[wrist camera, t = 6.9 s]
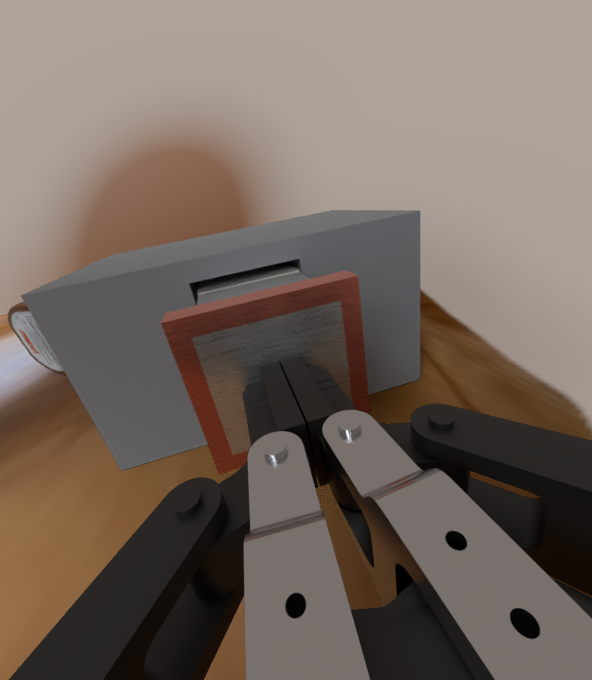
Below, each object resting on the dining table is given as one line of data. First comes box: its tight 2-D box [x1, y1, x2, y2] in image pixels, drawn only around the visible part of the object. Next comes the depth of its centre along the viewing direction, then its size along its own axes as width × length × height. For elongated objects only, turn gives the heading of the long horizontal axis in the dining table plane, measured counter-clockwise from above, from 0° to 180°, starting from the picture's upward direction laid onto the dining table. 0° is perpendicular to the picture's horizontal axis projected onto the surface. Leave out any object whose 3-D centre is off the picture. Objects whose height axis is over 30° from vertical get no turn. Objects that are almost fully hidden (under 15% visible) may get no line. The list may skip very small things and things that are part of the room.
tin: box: [8, 302, 66, 374], centre depth 31 cm, size 15×3×8 cm, turn 70°
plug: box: [161, 262, 370, 474], centre depth 18 cm, size 16×6×6 cm, turn 15°
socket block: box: [21, 210, 420, 471], centre depth 24 cm, size 14×20×11 cm
